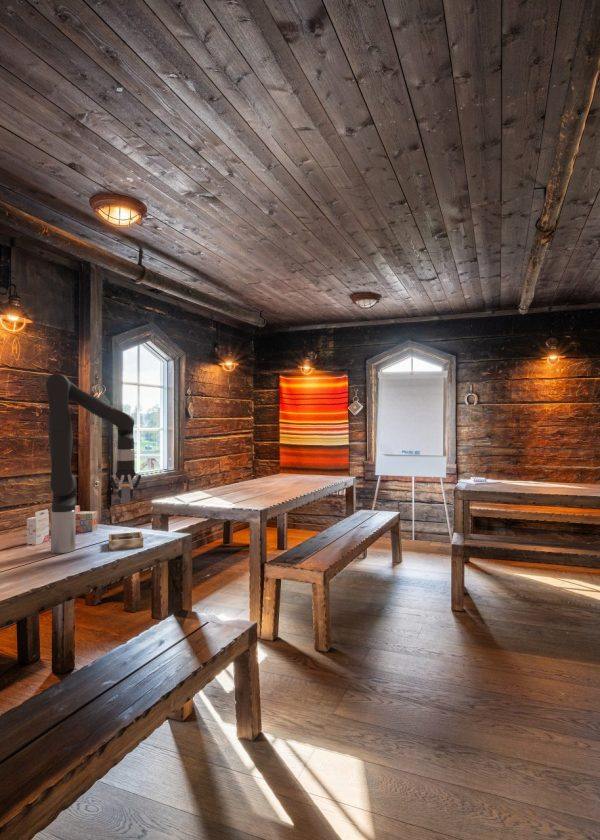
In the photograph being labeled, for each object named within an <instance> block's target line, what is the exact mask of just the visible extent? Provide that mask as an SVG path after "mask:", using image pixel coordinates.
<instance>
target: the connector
mask: <svg viewBox="0 0 600 840" xmlns="http://www.w3.org/2000/svg"><path fill="white" fill-rule="evenodd" d="M120 499H121V500H120V503H121V504H131V498H130V483H129V482H123V483H122V484H121V498H120Z"/></svg>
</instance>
